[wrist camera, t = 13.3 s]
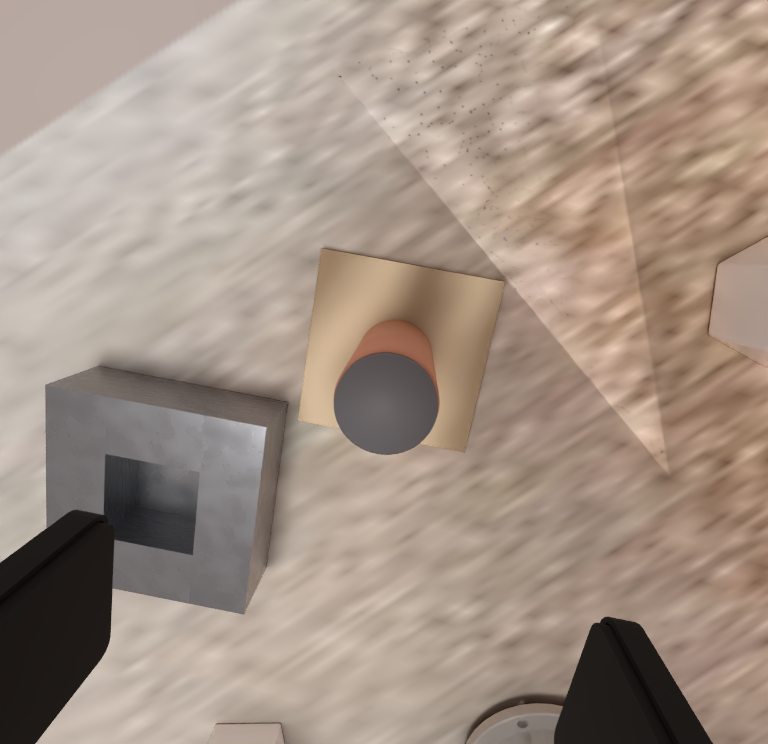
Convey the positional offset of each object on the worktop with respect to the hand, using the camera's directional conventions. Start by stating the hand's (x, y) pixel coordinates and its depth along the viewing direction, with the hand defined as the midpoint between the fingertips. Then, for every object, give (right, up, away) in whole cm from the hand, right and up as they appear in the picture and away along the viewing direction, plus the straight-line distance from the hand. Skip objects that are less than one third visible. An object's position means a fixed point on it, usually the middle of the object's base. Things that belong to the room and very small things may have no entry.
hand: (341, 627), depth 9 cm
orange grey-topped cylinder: (+2, +6, +23) cm, 24 cm away
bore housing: (-14, -3, +27) cm, 30 cm away
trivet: (+2, +6, +23) cm, 24 cm away
